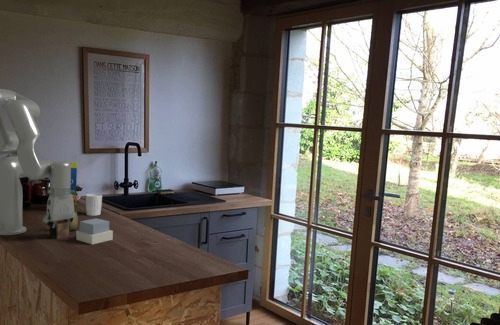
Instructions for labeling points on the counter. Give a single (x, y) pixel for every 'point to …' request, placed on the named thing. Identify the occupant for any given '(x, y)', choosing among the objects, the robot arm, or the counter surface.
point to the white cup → (93, 204)
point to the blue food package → (73, 180)
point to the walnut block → (62, 229)
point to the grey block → (94, 226)
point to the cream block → (94, 237)
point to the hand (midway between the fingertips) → (59, 234)
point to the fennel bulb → (74, 220)
